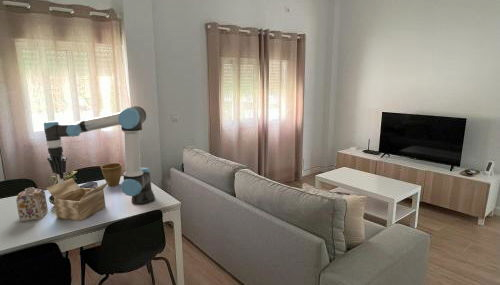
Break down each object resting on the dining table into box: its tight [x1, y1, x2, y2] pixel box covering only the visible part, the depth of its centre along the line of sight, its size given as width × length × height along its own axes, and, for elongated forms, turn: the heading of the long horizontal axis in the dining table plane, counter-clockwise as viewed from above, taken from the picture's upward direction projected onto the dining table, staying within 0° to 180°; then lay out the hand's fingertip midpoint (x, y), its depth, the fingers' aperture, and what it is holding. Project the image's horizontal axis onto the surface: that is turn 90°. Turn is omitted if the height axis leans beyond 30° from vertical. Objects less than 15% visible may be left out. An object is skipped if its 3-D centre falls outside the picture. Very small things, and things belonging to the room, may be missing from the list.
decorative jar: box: [15, 186, 49, 222], centre depth 184 cm, size 12×12×18 cm
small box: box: [78, 181, 99, 189], centre depth 212 cm, size 11×6×10 cm, turn 168°
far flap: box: [46, 177, 80, 199], centre depth 190 cm, size 8×19×1 cm
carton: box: [53, 188, 107, 222], centre depth 189 cm, size 18×21×12 cm
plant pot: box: [100, 162, 123, 188], centre depth 237 cm, size 15×15×16 cm
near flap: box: [80, 182, 109, 201], centre depth 184 cm, size 8×19×1 cm
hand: (61, 183), depth 189 cm, fingers closed
